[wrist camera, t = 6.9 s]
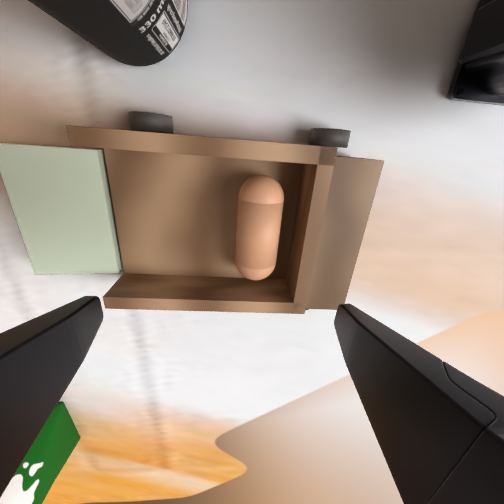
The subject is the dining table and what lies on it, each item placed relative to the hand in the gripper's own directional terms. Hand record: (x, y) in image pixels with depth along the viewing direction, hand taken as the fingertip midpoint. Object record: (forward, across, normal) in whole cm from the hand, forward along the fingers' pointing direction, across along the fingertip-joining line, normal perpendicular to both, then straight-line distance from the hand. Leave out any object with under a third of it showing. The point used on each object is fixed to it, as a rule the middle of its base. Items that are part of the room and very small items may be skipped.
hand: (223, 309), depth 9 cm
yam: (+11, -2, 0) cm, 11 cm away
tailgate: (+11, +9, 0) cm, 14 cm away
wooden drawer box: (+12, 0, 0) cm, 12 cm away
